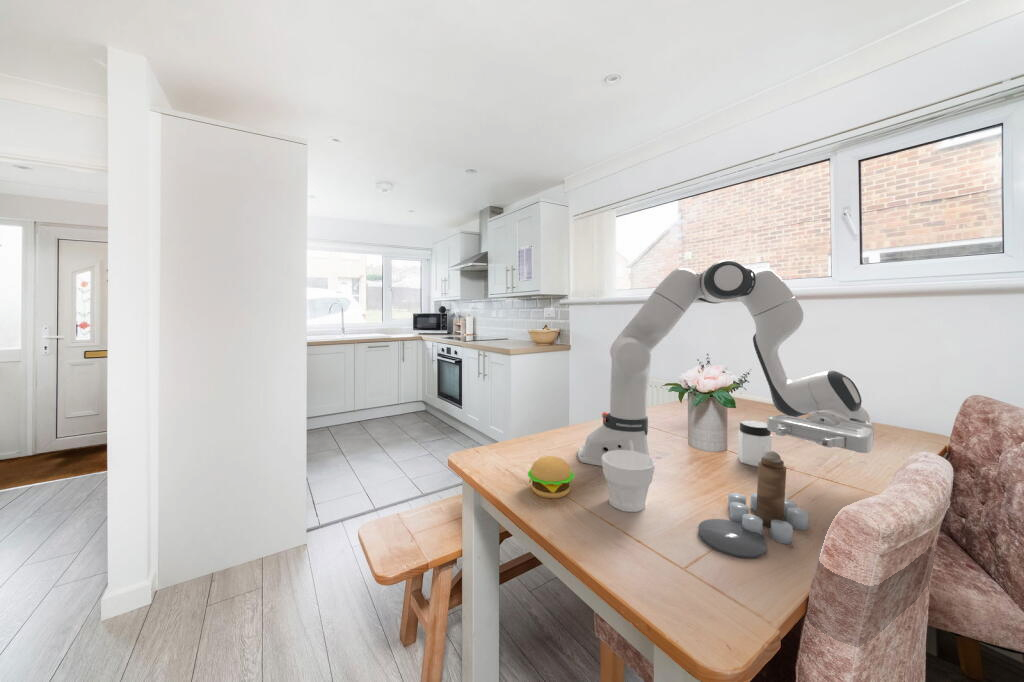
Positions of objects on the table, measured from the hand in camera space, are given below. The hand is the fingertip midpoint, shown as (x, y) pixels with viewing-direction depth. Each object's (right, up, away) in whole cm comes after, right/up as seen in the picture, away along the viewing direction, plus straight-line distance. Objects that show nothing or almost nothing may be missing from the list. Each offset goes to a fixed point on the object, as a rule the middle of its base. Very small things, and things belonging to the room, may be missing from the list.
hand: (801, 437), depth 88 cm
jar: (+8, -15, +30) cm, 34 cm away
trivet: (-23, -18, -11) cm, 31 cm away
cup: (-39, -17, +4) cm, 43 cm away
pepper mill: (-11, -18, -5) cm, 21 cm away
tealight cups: (-11, -18, -5) cm, 21 cm away
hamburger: (-57, -17, +11) cm, 61 cm away
